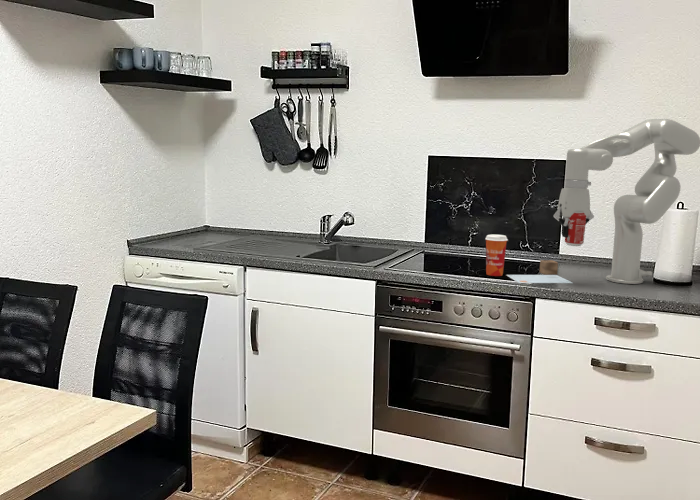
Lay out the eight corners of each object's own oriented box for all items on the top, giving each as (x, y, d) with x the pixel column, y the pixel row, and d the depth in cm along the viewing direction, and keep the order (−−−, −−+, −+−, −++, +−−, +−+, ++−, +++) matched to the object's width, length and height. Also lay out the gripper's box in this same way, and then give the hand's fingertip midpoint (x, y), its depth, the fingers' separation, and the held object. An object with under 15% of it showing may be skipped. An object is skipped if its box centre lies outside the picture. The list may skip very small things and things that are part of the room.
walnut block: (551, 273, 269) (552, 260, 268) (557, 275, 264) (557, 262, 263) (539, 273, 268) (540, 260, 268) (544, 275, 263) (545, 262, 263)
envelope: (556, 275, 263) (556, 275, 263) (573, 283, 248) (573, 283, 248) (505, 275, 261) (505, 274, 261) (519, 283, 246) (519, 282, 246)
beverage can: (568, 242, 248) (571, 209, 246) (585, 244, 245) (589, 211, 242) (561, 244, 243) (565, 210, 241) (579, 247, 240) (583, 213, 237)
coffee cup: (479, 275, 260) (481, 235, 257) (488, 272, 267) (490, 233, 264) (501, 278, 255) (503, 237, 253) (509, 275, 262) (511, 235, 260)
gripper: (594, 184, 245) (590, 235, 248) (548, 183, 243) (544, 235, 246) (604, 186, 238) (600, 238, 241) (557, 185, 236) (553, 238, 239)
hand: (572, 236), depth 243 cm, fingers closed on beverage can, 4 cm apart
